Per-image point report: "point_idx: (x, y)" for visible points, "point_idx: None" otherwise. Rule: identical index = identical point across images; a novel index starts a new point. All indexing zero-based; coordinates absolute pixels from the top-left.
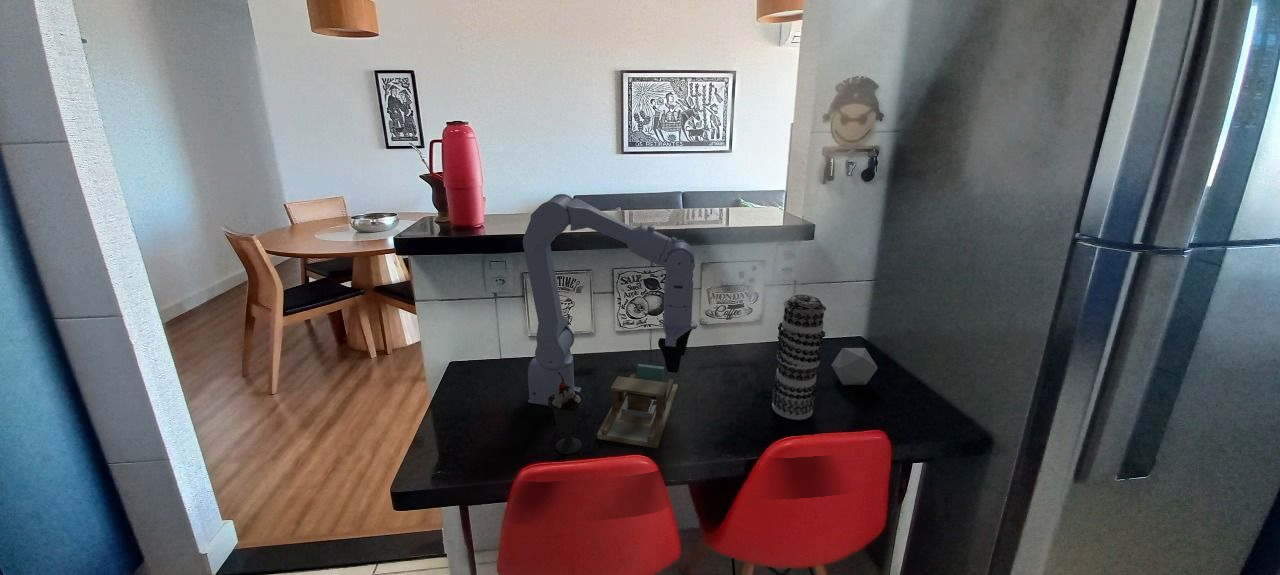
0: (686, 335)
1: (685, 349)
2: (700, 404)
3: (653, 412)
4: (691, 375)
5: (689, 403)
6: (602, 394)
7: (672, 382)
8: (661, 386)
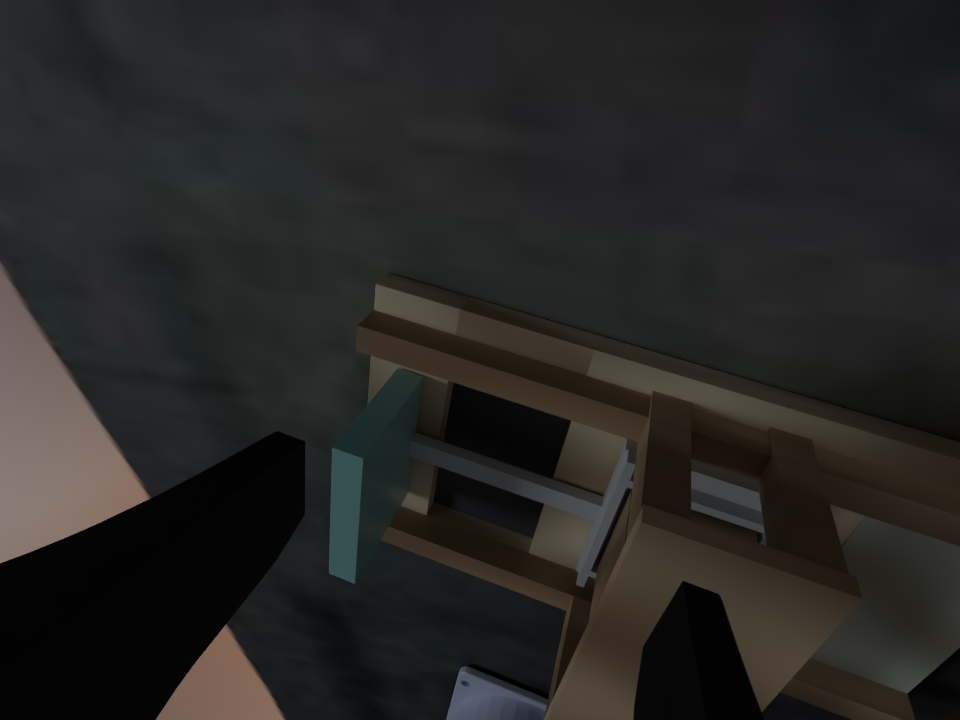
0: (61, 666)
1: (251, 483)
2: (577, 132)
3: (741, 485)
4: (217, 163)
5: (563, 215)
6: (489, 606)
7: (396, 338)
8: (704, 576)
